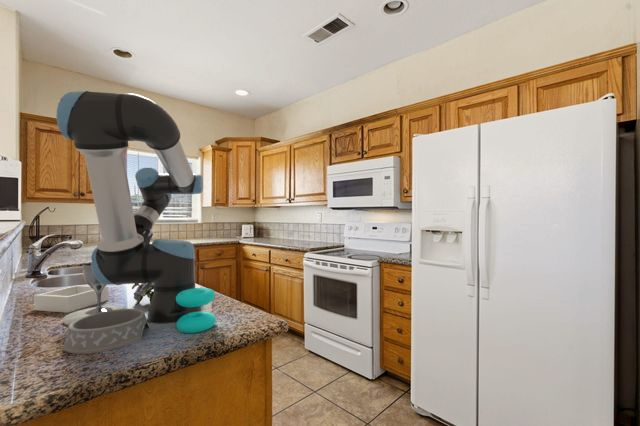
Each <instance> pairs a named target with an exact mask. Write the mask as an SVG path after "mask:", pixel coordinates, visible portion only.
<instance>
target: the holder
mask: <svg viewBox="0 0 640 426" xmlns="http://www.w3.org/2000/svg"><path fill="white" fill-rule="evenodd" d="M33 297H34V302H33V303H34V311H42V312H53V313H55V312H56V313H68V314H70V313H73V312H76V311H79V310H83V309H86V308H87V307H88V308H89V307H92V306H95V305H98V300H97V294H96V292H95V290H94V289H93V288H91V287H90V286H89V285H79V284H77V285H73V286H69V287H65V288H64V287H63V288H59V289H56V290H51V291H46V292H42V293H38V294H34V295H33ZM107 301H109V287H108V286H105V288H104V289H103V291H102V294H101V303H103V302H107Z"/></svg>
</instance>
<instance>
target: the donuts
mask: <svg viewBox="0 0 640 426" xmlns="http://www.w3.org/2000/svg"><path fill="white" fill-rule="evenodd" d="M215 297H216V293H215V291H214V290H213V289H211V288H208V287H199V288H198V287H197V288H196V287H195V288H194V289H188V290H184V291H182V292H180V293H179V294H178V295H177V296H176V302H177V303H178V304H179V305H181V306H184V307H199V306H202V307H203V306H206V305H208V304H210V303H211V302H213V300H214V299H215ZM215 324H216V316H215V315H214V314H213V313H211V312H209V311H203V310H202V311H198V312H192V313H188V314H186V315H184V316H182V317H181V318H180V319H179V320H178V321H177V322H176V324H175V325H176V326H175V327H176V329H177V331H180V332H182V333H186V334H193V333H194V334H195V333H202V332H205V331H207V330H209V329H211V328H212V327H213V326H214V325H215Z"/></svg>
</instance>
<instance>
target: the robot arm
mask: <svg viewBox="0 0 640 426" xmlns="http://www.w3.org/2000/svg"><path fill="white" fill-rule="evenodd" d="M56 123H57V127H58V130H59V132H60V133H61V135H62V136H63V137H64V138H65V139H67V140H69V141H73V144H74V149H75V150H77V151H78V152H80V153H81V154H82V155H84V156H83V157H84V159H85V165H86V169H87V170H86V171H87V174H88V175H87V176H88V179H89V183H90V188H91V193H92V197H93V202H94V207H95V212H96V215H97V216H96V217H97V222H98V225H99V230H100V234H101V239H100V240H99V241H98V242H97V243H96V247H95V248H94V250H93V251H92V253H91V257H90V259H91V262H90V263H91V269H92V272H93V274H94V276H95V278H96V279H97V280H98V281H99V282H100V283H102V284H106V286H108V285H112V286H113V285H115V286H122V285H129V284H132V285H134V284H135V283H139V284H141V283H151V282H152V283H153V284H154V289H153V291H154V293H153V296H152V300H151V303H150V302H149V307H148V309H147V315H146V316H147V322H148V321H149V322H150V323H155V324H171V323H172V324H173V323H177V321H178V320H179V319H180V318H181V317H182V316H184V315H186V314H188V313H192V312H198V311H203V310H202V309H203V308H202V307H203V306H199V307H184V306H181V305H179V304H178V303H177V302H176V296H177V295H178V294H179V293H180V292H182V291H184V290H188V289H194V288H196V260H195V259H196V255H195V245H194V244H193V243H192V242H190V241H187V240H183V239H172V238H166V239H165V238H157V239H156V238H155V239H153V240H152V242H151V239H152V237H153V236H154V233H153V232H152V231H151V230H152V229H153V226H154V225H155V223H156V222H157V221H158V219H159V218H160V216H161V215H162V214H163V212H164V211H165V209H166V208H167V207H168V206H169V204H170V202H171V201H172V198H173V197H172V196H173V195H199V194H202V193H203V190H204V179H203V177H202V176H203V175H202V174H199V173H198V174H196V173H194V172H193V170H192V167H191V165H190V163H189V160H188V157H187V156H186V153H185V151H184V149H183V146H182V144H181V141H180V139H181V132H180V129H179V127H178V124H177V122H176V121H175V119H173V117H172V116H171V115H170V114H169V113H168V112H167V111H166V110H164V108H163V107H162V106H160V105H159V104H158V103H156V102H155V101H153V100H151V99H149V98H147V97H145V96H142V95H140V94H136V93H121V92H120V93H119V92H102V91H100V92H99V91H89V90H85V91H84V90H82V91H69V92H67V93H65V94H64V95H62V97H61V98H60V100H59V102H58V103H57V107H56ZM134 141H135V142H143V143H145V144H146V146H147V147H149V149H152V150H153V151H154V152H155V154H156V156H157V157H158V159H159V160H160V162H161V164H162V166H163V167H164V169H165V171H166V173H159V172H158V171H157V168H153V167H149V166H146V167H142V168H140V169H138V170H137V171H136V173H135V175H134V176H135V177H134V178H135V180H136V185H137V187H138V189H139V192H140V195H142V198H143V201H142V204H141V205H140V206H139V208H138V209H137V210H136V211H135V212H134V210H133V202H132V197H131V190H130V186H129V185H130V184H129V179H128V173H127V166H126V162H125V156H124V152H125V151H127V149H128V148H129V142H134Z"/></svg>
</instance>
